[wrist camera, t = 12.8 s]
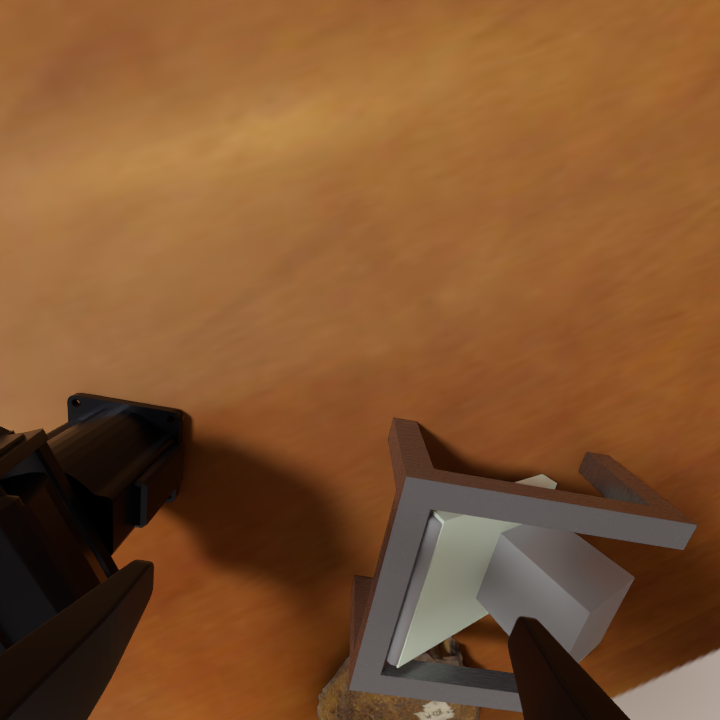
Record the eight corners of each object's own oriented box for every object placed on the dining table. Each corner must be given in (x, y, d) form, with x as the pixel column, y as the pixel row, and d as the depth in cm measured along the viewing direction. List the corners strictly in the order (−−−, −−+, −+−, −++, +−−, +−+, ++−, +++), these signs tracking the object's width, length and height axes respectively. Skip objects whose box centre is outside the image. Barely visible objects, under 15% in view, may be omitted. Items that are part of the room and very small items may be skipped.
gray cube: (475, 598, 21) (552, 686, 17) (500, 533, 20) (590, 612, 16) (523, 572, 24) (599, 643, 20) (548, 513, 23) (634, 577, 19)
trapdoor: (381, 653, 20) (391, 672, 19) (423, 509, 17) (437, 523, 16) (496, 589, 25) (508, 602, 24) (542, 473, 22) (557, 483, 22)
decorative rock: (408, 750, 31) (490, 635, 28) (419, 820, 28) (515, 696, 24) (291, 726, 29) (364, 599, 26) (284, 798, 25) (369, 659, 22)
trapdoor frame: (350, 591, 25) (348, 690, 19) (393, 417, 21) (406, 476, 15) (535, 618, 26) (585, 720, 20) (608, 455, 22) (697, 525, 16)
